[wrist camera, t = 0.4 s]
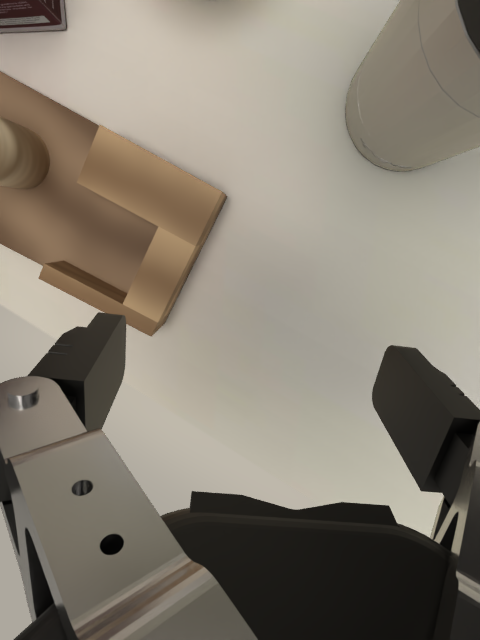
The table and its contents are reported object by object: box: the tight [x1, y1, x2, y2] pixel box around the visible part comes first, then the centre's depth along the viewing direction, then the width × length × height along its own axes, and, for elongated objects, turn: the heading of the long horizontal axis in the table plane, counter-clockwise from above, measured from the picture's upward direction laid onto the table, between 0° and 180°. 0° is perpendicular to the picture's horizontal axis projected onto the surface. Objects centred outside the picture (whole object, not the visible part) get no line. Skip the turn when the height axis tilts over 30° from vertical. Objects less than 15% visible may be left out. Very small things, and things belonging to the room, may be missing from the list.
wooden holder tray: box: [0, 72, 227, 336], centre depth 30 cm, size 12×20×4 cm, turn 62°
